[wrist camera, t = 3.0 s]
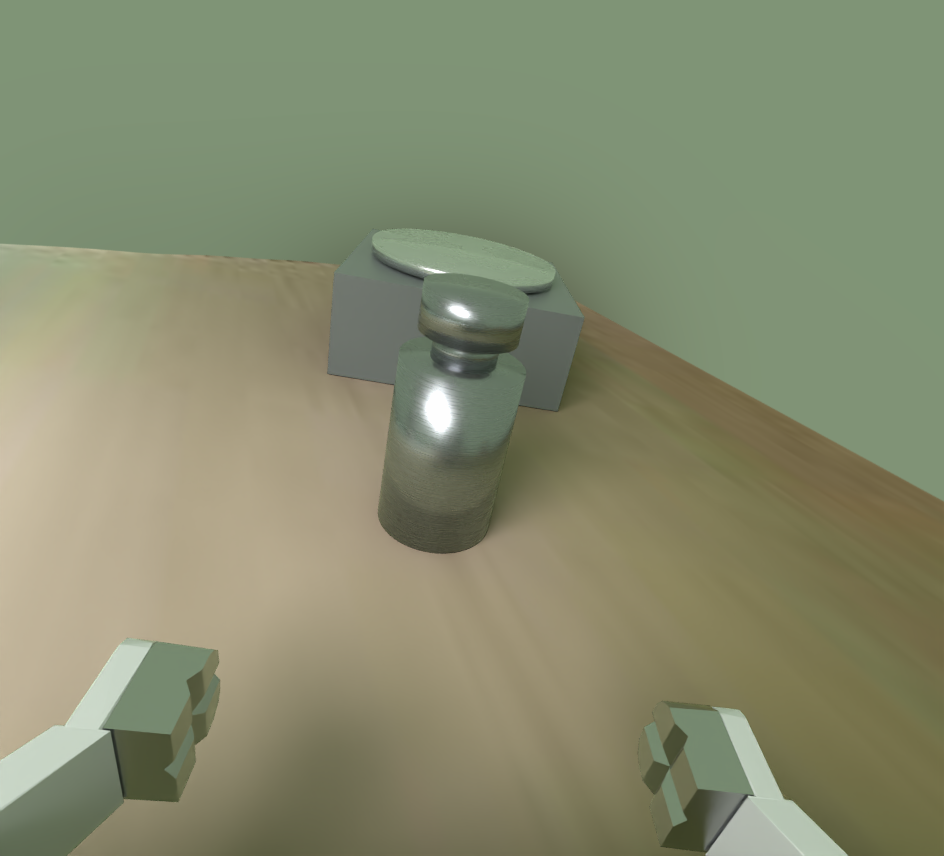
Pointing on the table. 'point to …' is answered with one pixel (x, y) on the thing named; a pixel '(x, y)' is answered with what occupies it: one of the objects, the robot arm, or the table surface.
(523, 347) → the scale base
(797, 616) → the table surface
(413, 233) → the scale pan
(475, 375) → the calibration weight
